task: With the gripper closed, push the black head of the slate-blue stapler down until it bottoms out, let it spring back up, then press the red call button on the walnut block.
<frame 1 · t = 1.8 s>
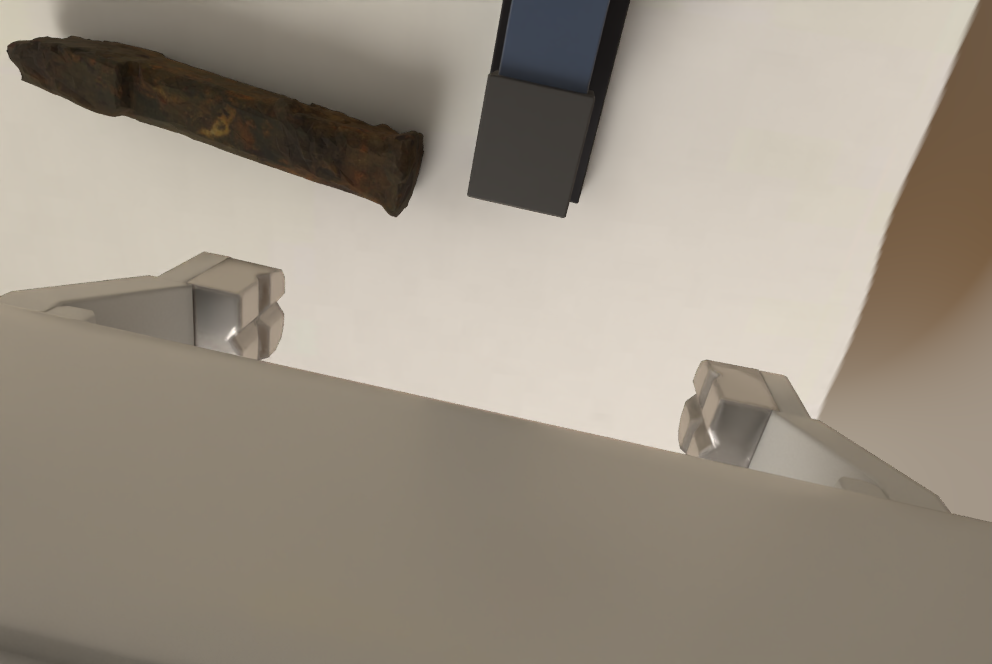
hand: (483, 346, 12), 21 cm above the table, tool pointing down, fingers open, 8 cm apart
hand tool: (243, 117, 32), on the table
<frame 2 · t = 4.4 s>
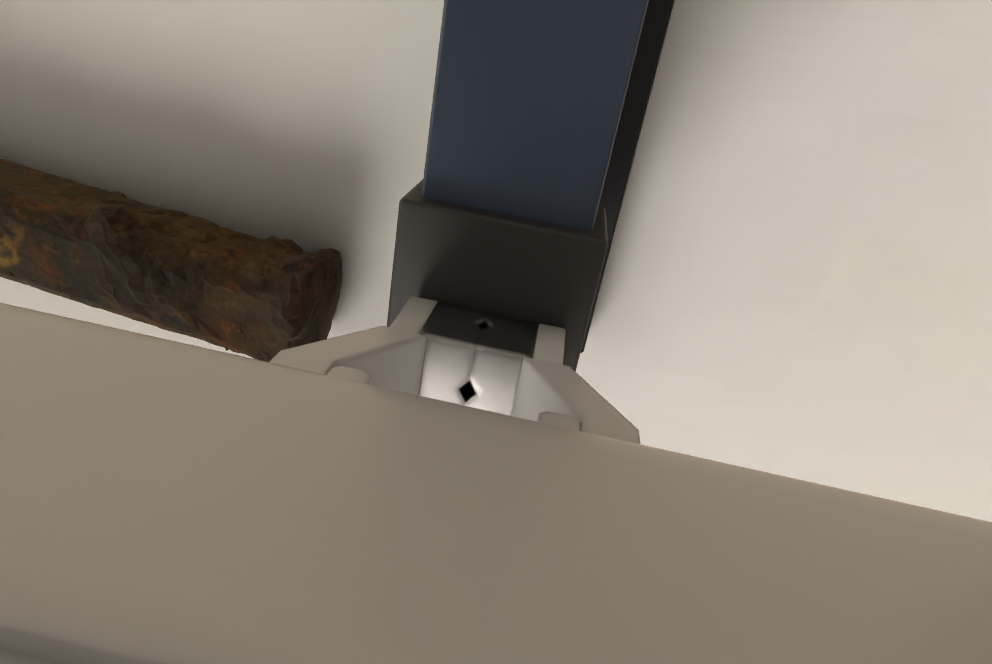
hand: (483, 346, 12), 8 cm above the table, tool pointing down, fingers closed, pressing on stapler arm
hand tool: (76, 219, 21), on the table
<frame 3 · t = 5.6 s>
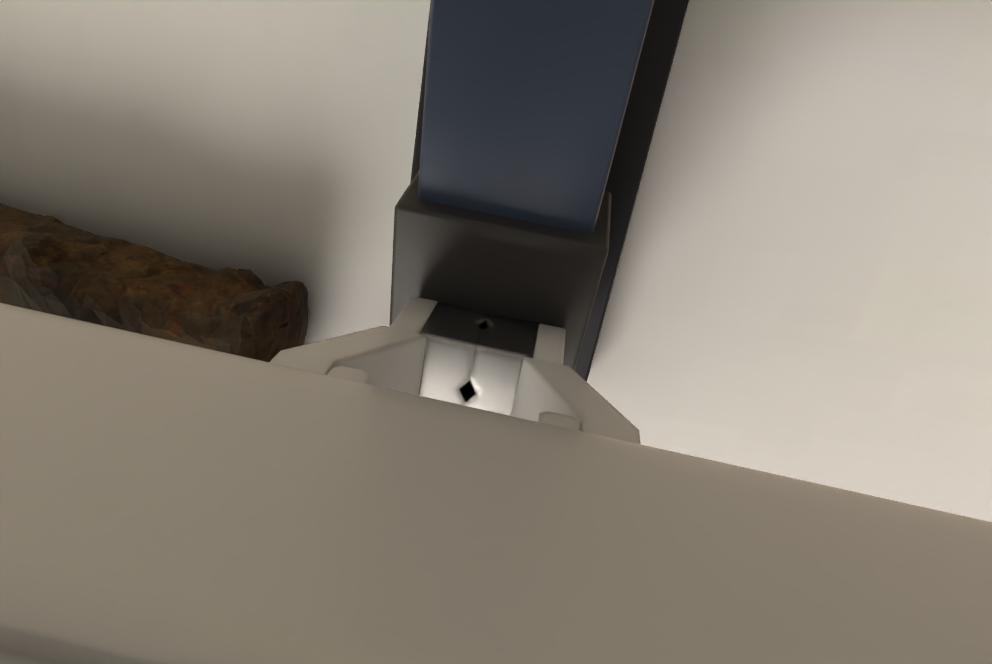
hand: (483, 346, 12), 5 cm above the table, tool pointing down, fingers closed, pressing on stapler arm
hand tool: (11, 245, 19), on the table
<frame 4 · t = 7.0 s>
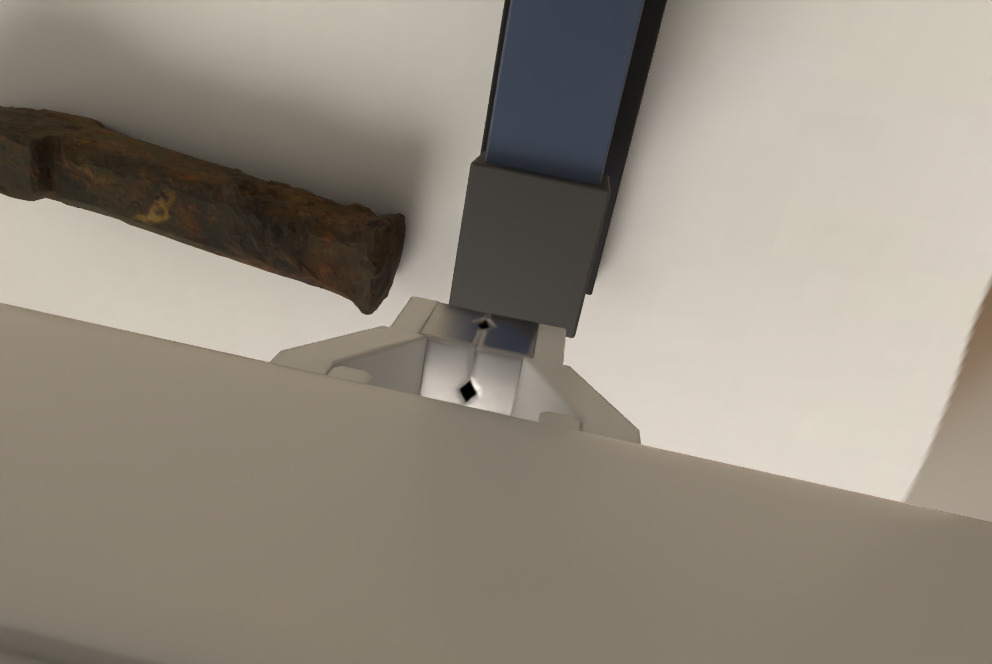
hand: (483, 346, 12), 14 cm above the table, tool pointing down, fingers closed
stapler: (585, 1, 22), on the table
stapler arm: (572, 29, 17), point 7 cm above the table, hinge at 0.6°
hand tool: (196, 192, 27), on the table
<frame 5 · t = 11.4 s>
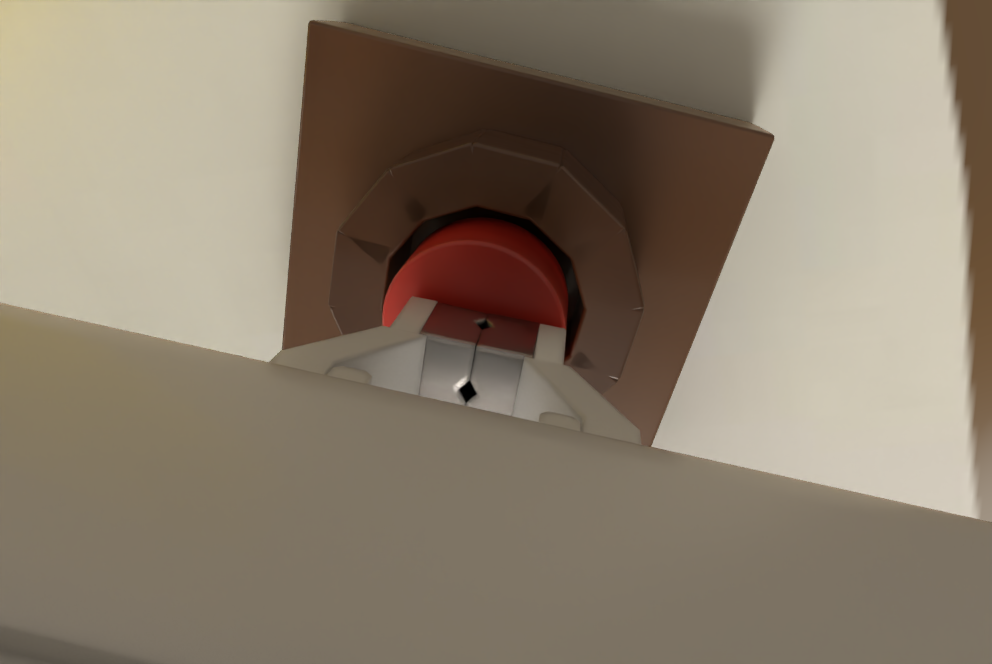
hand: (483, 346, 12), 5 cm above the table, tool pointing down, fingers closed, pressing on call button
call button: (478, 313, 13), point 4 cm above the table, slide at -0.1 cm, touching gripper
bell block: (503, 250, 17), on the table
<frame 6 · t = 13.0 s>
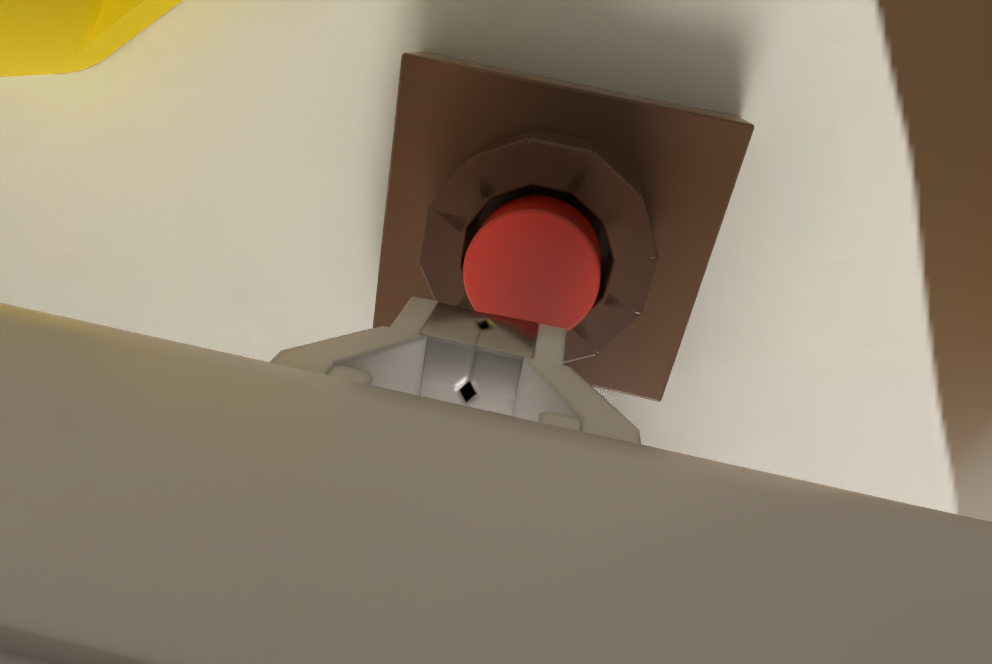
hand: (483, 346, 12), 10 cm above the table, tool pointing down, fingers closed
call button: (533, 267, 17), point 4 cm above the table, slide at 0.1 cm
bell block: (547, 225, 21), on the table
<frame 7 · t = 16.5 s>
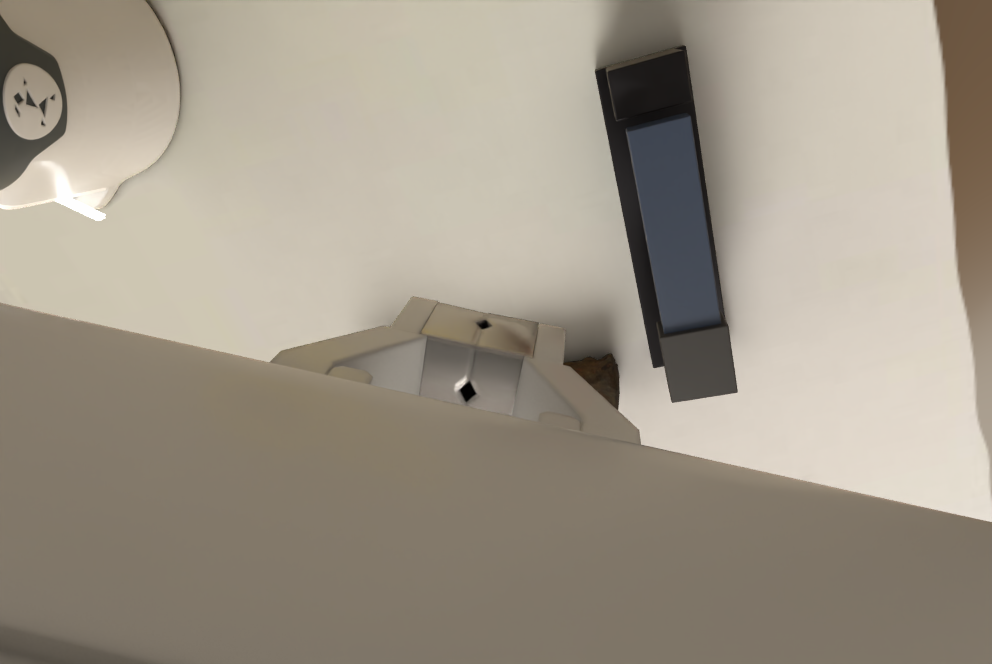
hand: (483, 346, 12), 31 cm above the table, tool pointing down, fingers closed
stapler: (665, 219, 42), on the table
stapler arm: (681, 265, 36), point 7 cm above the table, hinge at 0.6°
hand tool: (492, 382, 49), on the table
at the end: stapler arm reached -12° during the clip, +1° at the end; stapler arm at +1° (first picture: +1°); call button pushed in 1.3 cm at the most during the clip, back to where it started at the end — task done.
